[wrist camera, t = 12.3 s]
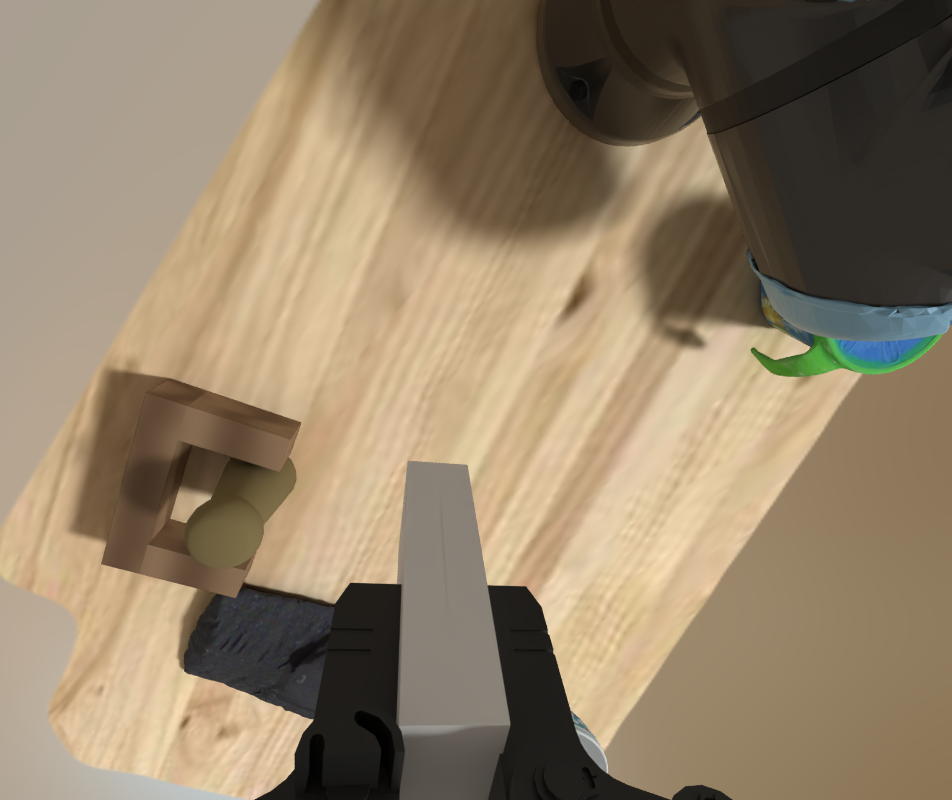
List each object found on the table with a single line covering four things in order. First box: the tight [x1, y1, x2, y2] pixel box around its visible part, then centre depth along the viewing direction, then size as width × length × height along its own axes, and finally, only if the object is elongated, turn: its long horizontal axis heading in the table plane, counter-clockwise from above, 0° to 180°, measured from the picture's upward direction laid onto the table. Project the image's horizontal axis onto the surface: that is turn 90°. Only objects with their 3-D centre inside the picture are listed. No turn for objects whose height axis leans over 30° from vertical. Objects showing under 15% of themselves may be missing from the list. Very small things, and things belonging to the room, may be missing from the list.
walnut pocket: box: [101, 379, 301, 598], centre depth 43 cm, size 11×16×4 cm
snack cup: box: [751, 282, 942, 377], centre depth 41 cm, size 16×10×10 cm
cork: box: [184, 457, 296, 569], centre depth 40 cm, size 6×6×11 cm
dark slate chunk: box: [184, 588, 335, 719], centre depth 50 cm, size 15×22×5 cm
